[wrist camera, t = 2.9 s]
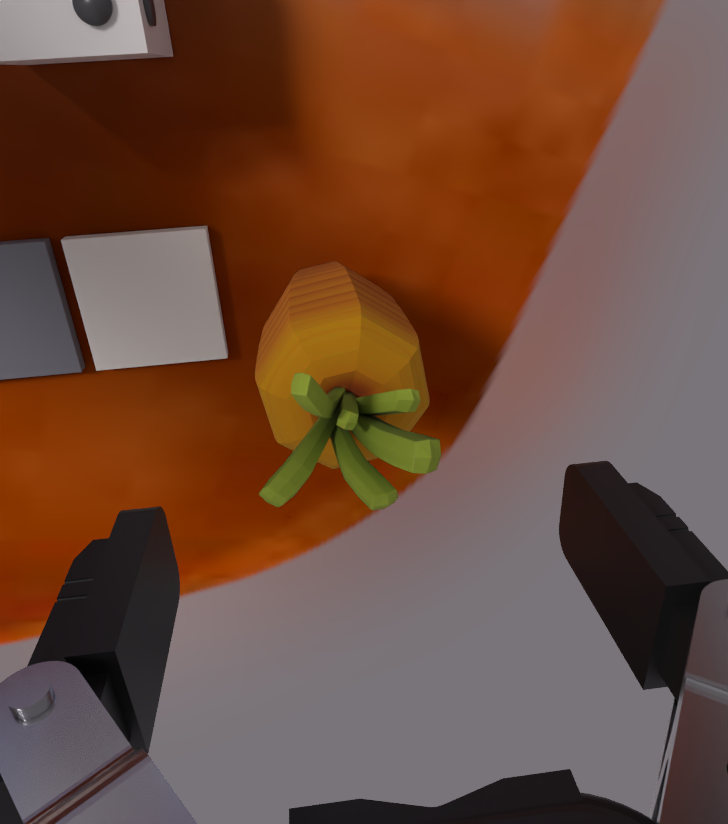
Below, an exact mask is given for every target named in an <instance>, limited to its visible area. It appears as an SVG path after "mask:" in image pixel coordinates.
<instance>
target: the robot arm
mask: <svg viewBox="0 0 728 824" xmlns="http://www.w3.org/2000/svg"><path fill="white" fill-rule="evenodd" d="M559 535H560V542H561V547H562V550H563V553H564V555H565V557H566V559H567V561H568V563H569V564H570V566H571V568H572V569H573V571H574V573H575V574H576V576H577V578H578V580H579V581H580V583H581V585H582V586H583V588H584V590H585V591H586V593H587V595H588V597H589V598H590V600H591V602H592V603H593V605H594V607H595V608H596V610H597V612H598V614H599V615H600V617H601V619H602V620H603V622H604V624H605V625H606V627H607V629H608V630H609V632H610V634H611V636H612V637H613V639H614V641H615V642H616V644H617V646H618V648H619V649H620V651H621V653H622V654H623V656H624V658H625V660H626V661H627V663H628V664H629V666H630V668H631V670H632V671H633V673H634V675H635V677H636V678H637V680H638V682H639V683H640V685H641V687H642V688H643V690H645V689H652V688H661V687H668V688H669V689H670V691H671V693H672V694H673V696H674V701H673V705H672V709H671V713H670V718H669V723H668V728H667V733H666V738H665V743H664V748H663V752H662V757H661V762H660V767H659V772H658V777H657V782H656V787H655V792H654V797H653V801H652V806H651V810H650V814H649V817H647V816H645V815H643V814H642V813H640V812H638V811H636V810H633V809H632V808H630V807H628V806H625V805H623V804H620V803H618V802H615V801H612V800H610V799H607V798H603V797H599V796H595V795H591V794H585V793H580V792H579V789H578V787H577V785H576V782H575V780H574V777H573V775H572V772H571V770H570V769H567V770H560V771H553V772H546V773H539V774H532V775H525V776H518V777H511V778H504V779H501V780H499V781H496V782H494V783H492V784H489V785H487V786H485V787H483V788H481V789H478V790H476V791H474V792H471V793H469V794H467V795H465V796H462V797H460V798H458V799H456V800H453V801H451V802H449V803H447V804H444V805H441V806H438V807H423V806H414V805H407V804H399V803H390V802H382V801H374V800H365V799H355V800H349V801H341V802H334V803H327V804H319V805H312V806H305V807H298V808H291V809H289V824H728V571H727V570H726V569H725V568H724V567H723V566H722V564H721V563H720V562H719V561H718V560H717V559H716V558H715V557H714V555H712V553H711V552H710V551H709V550H708V549H707V548H706V547H705V546H704V544H703V543H702V542H701V541H700V540H699V539H698V538H697V537H696V535H695V534H694V533H693V532H692V531H689V530H688V527H687V525H686V524H685V523H684V522H683V521H682V520H681V519H680V518H679V517H676V513H675V512H674V511H673V510H672V509H671V508H670V507H669V505H667V503H666V502H665V501H664V500H663V499H662V498H661V497H660V496H659V495H657V494H655V493H654V492H652V491H650V490H649V489H647V488H645V487H643V486H642V485H640V484H638V483H627V482H626V481H625V479H624V478H623V477H622V476H621V475H620V473H619V472H618V471H617V470H616V469H615V468H614V467H613V465H612V464H611V463H610V462H608V461H600V462H591V463H582V464H572V465H569V466H568V467H567V469H566V473H565V479H564V488H563V497H562V506H561V515H560V523H559ZM179 594H180V581H179V571H178V566H177V562H176V558H175V554H174V549H173V545H172V541H171V537H170V533H169V529H168V524H167V520H166V516H165V513H164V510H163V509H162V507H152V508H142V509H132V510H123V511H120V512H119V514H118V516H117V519H116V521H115V524H114V527H113V529H112V532H111V535H110V537H109V538H108V539H98V540H93V541H92V542H91V543H90V544H89V545H88V546H87V547H86V548H85V549H84V550H83V551H82V552H81V553H80V554H79V555H78V556H77V557H76V558H75V559H74V560H73V563H72V565H71V567H70V569H69V572H68V574H67V576H66V579H65V585H63V586H62V588H61V590H60V592H59V595H58V597H57V602H55V604H54V606H53V608H52V611H51V613H50V615H49V618H48V620H47V622H46V625H45V627H44V629H43V631H42V634H41V636H40V638H39V641H38V643H37V645H36V648H35V650H34V652H33V654H32V657H31V659H30V661H29V664H28V666H27V667H25V668H23V669H21V670H20V671H17V672H16V673H14V674H12V675H11V676H9V677H8V678H6V679H5V680H4V681H2V682H1V683H0V824H197V823H196V821H195V820H194V818H193V817H192V815H191V814H190V813H189V811H188V810H187V808H186V807H185V806H184V804H183V803H182V801H181V800H180V799H179V797H178V796H177V794H176V793H175V792H174V790H173V789H172V787H171V786H170V785H169V783H168V782H167V780H166V779H165V778H164V776H163V775H162V773H161V772H160V771H159V769H158V768H157V766H156V765H155V764H154V762H153V761H152V759H151V758H150V757H149V755H148V752H149V747H150V742H151V737H152V732H153V727H154V722H155V717H156V712H157V707H158V702H159V697H160V692H161V687H162V682H163V677H164V672H165V667H166V662H167V657H168V652H169V647H170V642H171V637H172V633H173V628H174V622H175V617H176V613H177V608H178V603H179Z"/></svg>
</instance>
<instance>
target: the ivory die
mask: <svg viewBox="0 0 728 824" xmlns="http://www.w3.org/2000/svg"><path fill="white" fill-rule="evenodd" d="M159 57H174V56H173V51H172V45H171V39H170V33H169V27H168V21H167V15H166V9H165V3H164V0H0V65H37V64H54V63H72V62H89V61H107V60H124V59H141V58H159Z"/></svg>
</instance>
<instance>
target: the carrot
mask: <svg viewBox="0 0 728 824" xmlns="http://www.w3.org/2000/svg"><path fill="white" fill-rule="evenodd" d="M255 380H256V383H257V386H258V389H259V392H260V395H261V398H262V401H263V404H264V407H265V410H266V413H267V416H268V419H269V422H270V425H271V428H272V431H273V434H274V437H275V439H276V441H277V442H278V444H281V445H283V446H285V447H287V448H289V449H291V450H293V452H292V454H291V455H290V456H289V457H288V459H287V460H286V461H285V463H284V464H283V465H282V466H281V467H280V468H279V469H278V470H277V471H276V472H275V474H274V475H273V476H272V477H271V478H270V479H269V480H268V482H267V483H266V484H265V486H264V487H263V489H262V490H261V491H260V493H259V495H260V496H261V497H262V498H263V499H264V500H265V501H266V502H268V503H270V504H272V505H274V506H276V507H280V506H282V505H283V504H284V503H286V502H287V501H288V500H289V499H291V498H292V497H293V496H294V495H295V494H296V493H297V492H298V490H299V489H300V488H301V487H302V485H303V484H304V483H305V482H306V480H307V479H308V477H309V476H310V474H311V473H312V471H313V469H314V467H315V465H316V463H317V462H319V463H321V464H323V465H325V466H327V467H329V468H331V469H336V468H340V469H341V472H342V474H343V477H344V479H345V480H346V482H347V483H348V484H349V485H350V487H351V488H352V489H353V491H354V492H355V493H356V494H357V496H358V497H359V498H360V499H361V500H362V501H363V502H364V503H365V504H366V505H367V506H368V507H369V508H370V509H371V510H378V509H384V508H386V507H388V506H389V505H391V504H393V503H394V502H395V501H396V499H397V498H398V495H397V490H396V489H395V488H394V487H393V486H392V485H391V484H390V483H389V482H388V481H387V480H386V479H385V478H384V476H383V475H382V474H380V473H379V472H378V471H377V470H376V469H375V468H374V467H373V466H372V465H371V464H370V463H369V462H368V460H372V459H376V458H380V459H382V460H384V461H385V462H387V463H389V464H391V465H393V466H395V467H398V468H401V469H403V470H406V471H409V472H411V473H423V474H427V473H430V472H432V471H435V470H437V467H438V464H439V460H440V457H441V449H440V440H439V439H436V438H432V437H429V436H426V435H422V434H418V433H413V432H410V431H411V429H412V428H413V427H414V425H415V424H416V423H417V421H418V420H419V419H420V417H421V416H422V414H423V413H424V412H425V410H426V409H427V408H428V406H429V402H430V398H429V393H428V388H427V382H426V377H425V372H424V366H423V361H422V356H421V350H420V345H419V340H418V336H417V333H416V332H415V330H414V328H413V327H412V325H411V323H410V322H409V320H408V319H407V317H406V315H405V314H404V312H403V311H402V310H401V308H400V307H399V305H398V304H397V303H396V301H395V300H394V299H393V297H392V296H391V295H390V294H388V293H387V292H385V291H384V290H383V289H381V288H380V287H378V286H377V285H375V284H373V283H372V282H370V281H368V280H367V279H365V278H364V277H362V276H360V275H359V274H357V273H355V272H354V271H352V270H350V269H349V268H347V267H345V266H344V265H342V264H340V263H338V262H336V261H333V262H329V263H325V264H321V265H317V266H313V267H309V268H305V269H301V270H298V271H297V272H296V273H295V274H294V276H293V278H292V279H291V281H290V283H289V284H288V286H287V288H286V289H285V291H284V293H283V294H282V296H281V298H280V300H279V301H278V303H277V305H276V306H275V308H274V310H273V311H272V313H271V315H270V316H269V318H268V320H267V322H266V323H265V325H264V327H263V331H262V335H261V339H260V344H259V348H258V355H257V361H256V368H255Z"/></svg>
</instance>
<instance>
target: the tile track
mask: <svg viewBox="0 0 728 824" xmlns="http://www.w3.org/2000/svg"><path fill="white" fill-rule="evenodd" d="M61 243H62V247H63V250H64V254H65V258H66V261H67V265H68V269H69V272H70V276H71V280H72V283H73V287H74V291H75V294H76V298H77V302H78V305H79V309H80V312H81V316H82V320H83V323H84V327H85V331H86V334H87V338H88V342H89V345H90V349H91V353H92V356H93V360H94V364H95V367H96V371H98V370H109V369H120V368H130V367H141V366H152V365H162V364H173V363H183V362H194V361H205V360H215V359H226V358H227V357H228V348H227V342H226V336H225V330H224V324H223V318H222V312H221V306H220V300H219V294H218V288H217V282H216V275H215V269H214V263H213V257H212V251H211V245H210V239H209V233H208V227H207V226H194V227H181V228H168V229H156V230H143V231H130V232H117V233H104V234H91V235H78V236H66V237H64V238H63V239H61ZM84 368H85V363H84V359H83V356H82V352H81V349H80V345H79V342H78V338H77V335H76V331H75V327H74V324H73V320H72V317H71V313H70V310H69V306H68V303H67V299H66V295H65V292H64V288H63V285H62V281H61V278H60V274H59V271H58V267H57V263H56V260H55V256H54V253H53V249H52V246H51V242H50V239H49V238H40V239H27V240H14V241H1V242H0V380H3V379H13V378H24V377H35V376H45V375H56V374H67V373H77V372H82V371H83V369H84Z"/></svg>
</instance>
